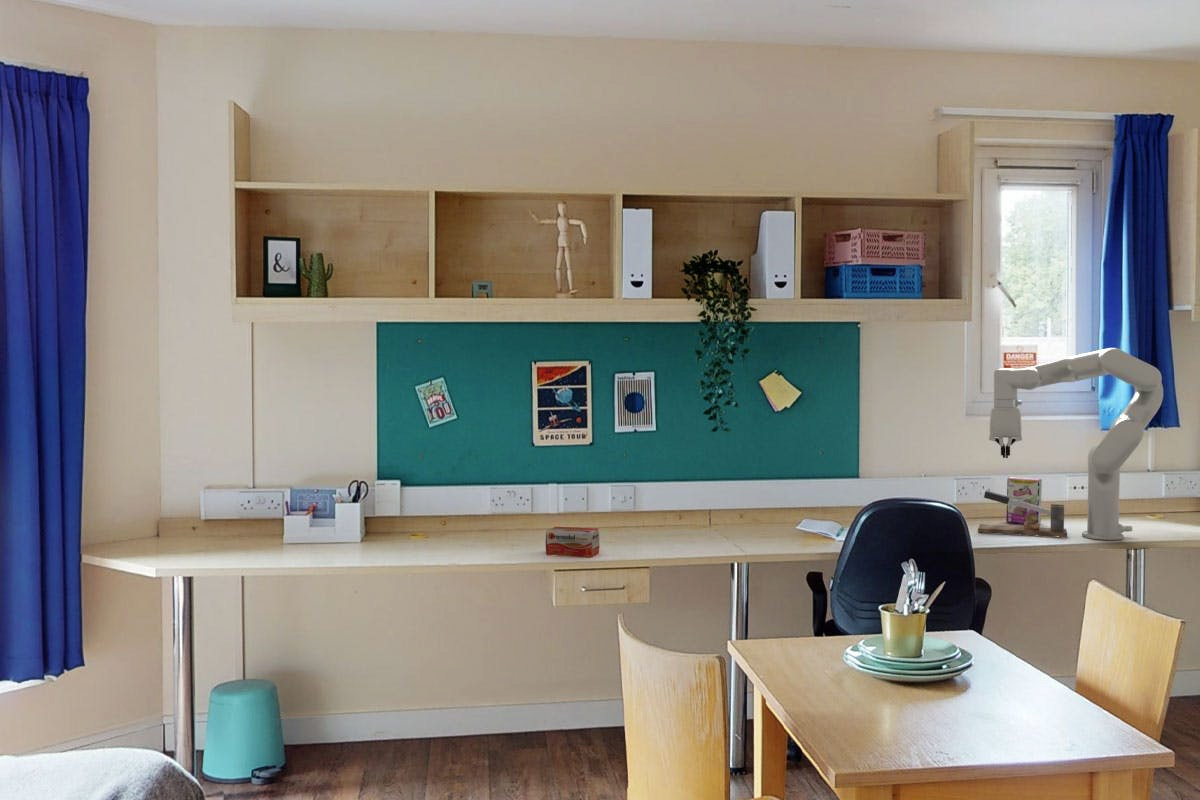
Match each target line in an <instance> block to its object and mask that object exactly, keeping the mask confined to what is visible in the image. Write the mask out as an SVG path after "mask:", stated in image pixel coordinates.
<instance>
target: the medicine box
mask: <svg viewBox="0 0 1200 800" xmlns="http://www.w3.org/2000/svg"><path fill="white" fill-rule="evenodd" d="M545 531H546V532H545V533H546V534H545V554H546V556H549V555H557V556H556V557H568V558H584V557H585V558H587V559H588V558H589V559H592V558H594V557H595V556H597V555H598V554H599V553H600V529H599V528H598V527H597V528H596V527H595V528H594V527H577V526H576V527H573V526H553V527H552V528H549V529H548V530H547V529H546V530H545Z"/></svg>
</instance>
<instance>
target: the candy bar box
mask: <svg viewBox="0 0 1200 800" xmlns="http://www.w3.org/2000/svg"><path fill="white" fill-rule="evenodd" d="M1006 483H1007V484H1006V485H1007V487H1006V496H1008V497H1009V498H1011V499H1015V500H1018V501H1022V502H1025V503H1029V504H1032V505H1036V506H1040V507H1042V488H1043V486H1042V485H1043V484H1042V483H1043V479H1042V478H1032V477H1031V478H1030V477H1018V476H1016V477H1015V476H1009V477H1007V481H1006ZM1029 513H1035V514H1036V515H1037V516H1038V521H1037V523H1039V525H1040V524H1041V523H1042V513H1040V512H1037V511H1033V510H1030V509H1026V508H1023V507H1019V506H1016V505H1012V504H1009V503H1008V504H1006V517H1005V521H1006V523H1007V522H1010V524H1017V523H1022V525H1024V523H1025V522H1026V515H1027V514H1029Z"/></svg>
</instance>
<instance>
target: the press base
mask: <svg viewBox="0 0 1200 800" xmlns="http://www.w3.org/2000/svg"><path fill="white" fill-rule="evenodd" d="M1050 510H1051V515H1050V527H1041V526H1040V524H1039V523H1037V521H1038V516H1037V515H1036V514H1035V513H1029V514H1027V515H1026V522H1025V523H1024V524H1023V525H1024V526H1020V525H1005V524H1004V525H1003V524H984V523H979V525H978V527H977V528H978V530H977V531H978V532H983V533H982V534H990V533H1001V534H1000V535H1008V534H1021V535H1020V536H1025V535H1038V536H1037V537H1043V536H1059V537H1058V538H1061V537H1067V538H1068V530H1067V528H1065V506H1064V504H1058V503H1057V504H1056V503H1050Z"/></svg>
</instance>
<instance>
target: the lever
mask: <svg viewBox="0 0 1200 800" xmlns="http://www.w3.org/2000/svg"><path fill="white" fill-rule="evenodd" d="M983 499H987V500H990V501H991V500H992V501H994V502H999V503H1001V504H1005V505H1007V504H1008V503H1009V504H1012V505H1016V506H1019V507H1023V508H1026V509H1030V510H1033V511H1037V512H1040V513H1041V514H1045V515H1047V516H1048V515H1049V516H1051V508H1046V507H1042V506H1041V507H1040V506H1036V505H1032V504H1029V503H1025V502H1022V501H1018V500H1015V499H1011V498H1009V497H1008V496H1007V495H1004V494H1000V493H996V492H993V491H991V490H985V491H984V495H983Z"/></svg>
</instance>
